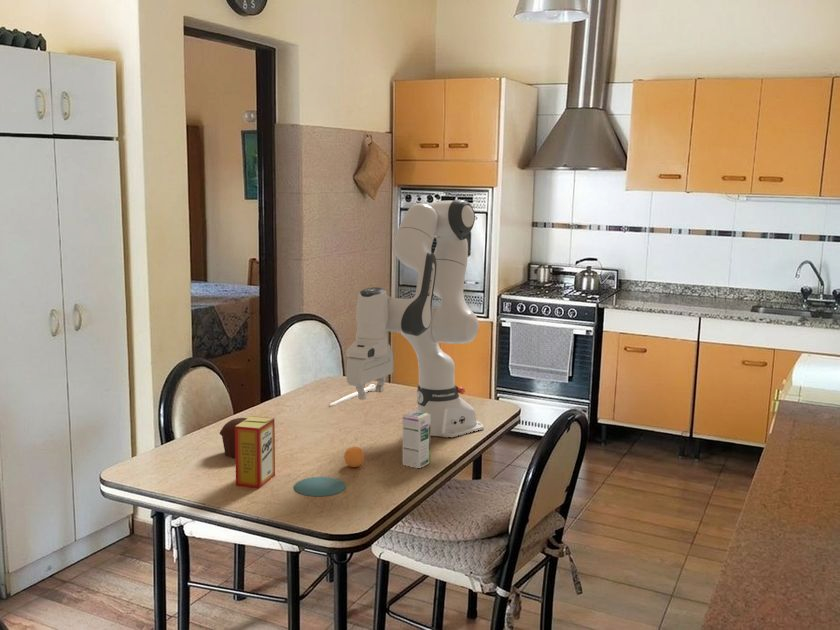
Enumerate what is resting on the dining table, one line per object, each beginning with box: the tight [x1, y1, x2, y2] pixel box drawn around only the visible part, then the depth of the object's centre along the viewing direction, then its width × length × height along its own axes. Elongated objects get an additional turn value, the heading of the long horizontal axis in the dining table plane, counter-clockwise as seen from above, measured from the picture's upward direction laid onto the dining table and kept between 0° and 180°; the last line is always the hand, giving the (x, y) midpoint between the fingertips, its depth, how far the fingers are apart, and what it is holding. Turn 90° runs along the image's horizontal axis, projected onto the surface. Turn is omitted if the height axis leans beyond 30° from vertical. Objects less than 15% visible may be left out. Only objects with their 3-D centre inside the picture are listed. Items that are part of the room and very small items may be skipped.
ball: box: [343, 446, 365, 468], centre depth 224 cm, size 6×6×6 cm
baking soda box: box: [234, 415, 276, 489], centre depth 211 cm, size 10×6×16 cm
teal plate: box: [293, 476, 347, 497], centre depth 209 cm, size 13×13×1 cm
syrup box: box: [402, 410, 432, 469], centre depth 226 cm, size 6×6×14 cm
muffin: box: [219, 417, 249, 459], centre depth 232 cm, size 12×11×10 cm
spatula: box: [329, 383, 377, 407], centre depth 294 cm, size 28×4×3 cm, turn 152°
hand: (370, 395), depth 230 cm, fingers open, 8 cm apart
